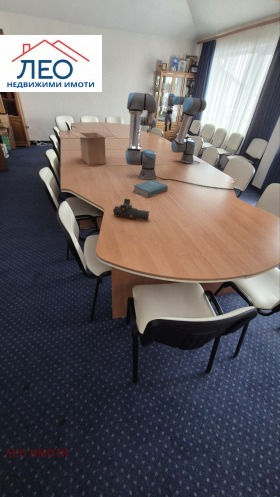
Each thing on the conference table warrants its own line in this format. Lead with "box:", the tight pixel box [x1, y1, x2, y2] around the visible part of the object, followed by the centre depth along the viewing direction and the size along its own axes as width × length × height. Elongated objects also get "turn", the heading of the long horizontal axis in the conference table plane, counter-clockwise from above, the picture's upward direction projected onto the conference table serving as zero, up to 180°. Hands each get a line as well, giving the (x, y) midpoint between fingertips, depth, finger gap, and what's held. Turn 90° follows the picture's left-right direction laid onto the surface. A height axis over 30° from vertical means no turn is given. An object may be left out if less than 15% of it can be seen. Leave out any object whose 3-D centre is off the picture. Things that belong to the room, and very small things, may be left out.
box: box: [70, 129, 114, 166], centre depth 229 cm, size 44×36×27 cm
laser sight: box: [112, 198, 150, 221], centre depth 138 cm, size 10×22×10 cm, turn 78°
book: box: [133, 179, 169, 198], centre depth 177 cm, size 23×16×5 cm
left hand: (135, 153), depth 245 cm, fingers closed on brick, 7 cm apart
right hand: (167, 130), depth 265 cm, fingers open, 13 cm apart
